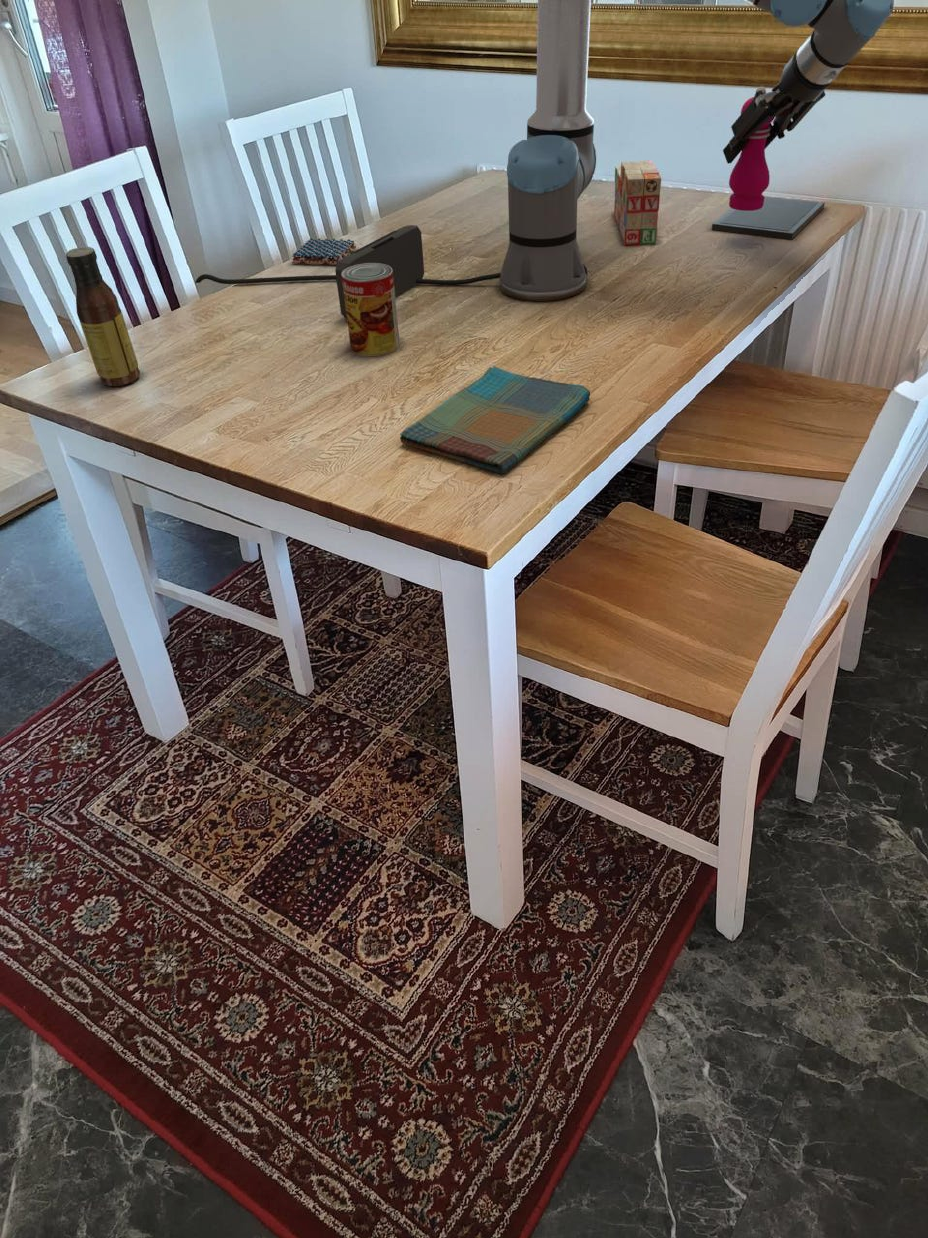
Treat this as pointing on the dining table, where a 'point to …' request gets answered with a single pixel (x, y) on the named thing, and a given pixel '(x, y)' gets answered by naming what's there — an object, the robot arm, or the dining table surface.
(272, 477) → the dining table surface
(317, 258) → the woven mat
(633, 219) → the stack of blocks
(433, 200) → the dining table surface
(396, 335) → the canned food
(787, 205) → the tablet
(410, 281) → the handheld gaming console
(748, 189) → the pepper mill
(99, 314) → the sauce bottle
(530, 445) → the dish towel
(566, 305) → the dining table surface
